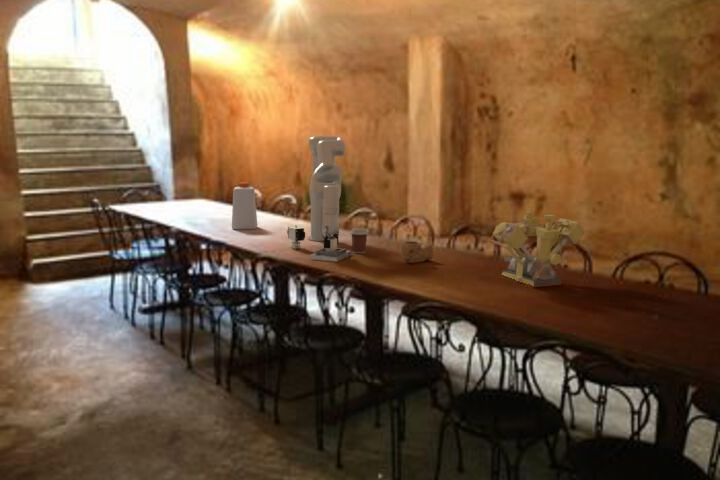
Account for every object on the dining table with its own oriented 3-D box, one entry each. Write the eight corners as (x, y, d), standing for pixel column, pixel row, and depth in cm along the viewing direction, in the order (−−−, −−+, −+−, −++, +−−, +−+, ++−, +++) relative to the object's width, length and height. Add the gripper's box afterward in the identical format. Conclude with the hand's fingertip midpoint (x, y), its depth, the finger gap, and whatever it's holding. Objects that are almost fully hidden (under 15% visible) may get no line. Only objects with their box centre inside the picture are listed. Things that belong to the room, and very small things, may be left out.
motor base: (325, 252, 308) (325, 245, 307) (351, 254, 303) (351, 247, 302) (309, 259, 291) (309, 252, 290) (337, 261, 286) (337, 254, 286)
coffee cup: (356, 249, 316) (357, 226, 314) (371, 251, 311) (372, 228, 309) (346, 252, 309) (346, 228, 306) (361, 254, 303) (361, 230, 301)
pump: (328, 251, 300) (328, 235, 299) (338, 252, 298) (338, 236, 297) (323, 253, 295) (323, 237, 294) (334, 254, 293) (334, 238, 292)
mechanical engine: (521, 297, 230) (526, 217, 225) (467, 275, 263) (470, 205, 258) (600, 287, 246) (606, 213, 240) (539, 268, 279) (543, 202, 273)
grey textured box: (435, 261, 290) (436, 240, 288) (412, 266, 279) (412, 244, 278) (421, 258, 297) (422, 238, 295) (398, 263, 286) (398, 241, 284)
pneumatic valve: (297, 250, 311) (297, 227, 309) (287, 246, 321) (286, 224, 319) (306, 249, 314) (306, 226, 312) (296, 245, 324) (296, 223, 322)
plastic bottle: (233, 226, 385) (232, 181, 380) (257, 226, 387) (257, 181, 382) (231, 230, 370) (229, 183, 365) (256, 230, 372) (255, 183, 367)
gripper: (331, 208, 302) (331, 242, 305) (316, 212, 286) (316, 248, 289) (345, 209, 299) (345, 243, 303) (331, 213, 284) (331, 250, 287)
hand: (331, 246), depth 296 cm, fingers open, 9 cm apart
